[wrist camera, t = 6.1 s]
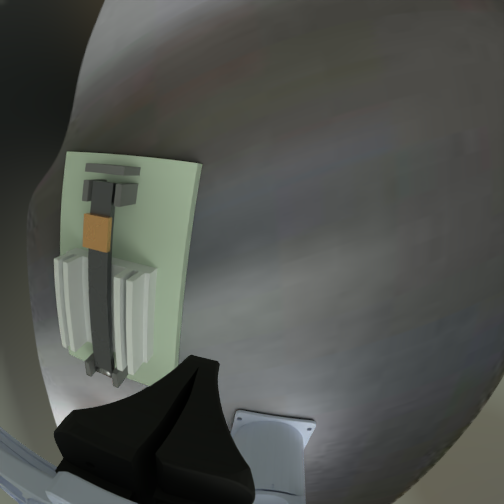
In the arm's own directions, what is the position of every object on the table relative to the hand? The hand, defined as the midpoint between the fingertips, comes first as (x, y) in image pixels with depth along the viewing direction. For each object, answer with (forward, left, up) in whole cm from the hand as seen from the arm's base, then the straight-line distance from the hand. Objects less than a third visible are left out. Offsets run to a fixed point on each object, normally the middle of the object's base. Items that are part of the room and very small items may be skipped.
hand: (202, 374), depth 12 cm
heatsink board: (-1, +10, -10) cm, 14 cm away
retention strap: (-1, +10, -8) cm, 13 cm away
